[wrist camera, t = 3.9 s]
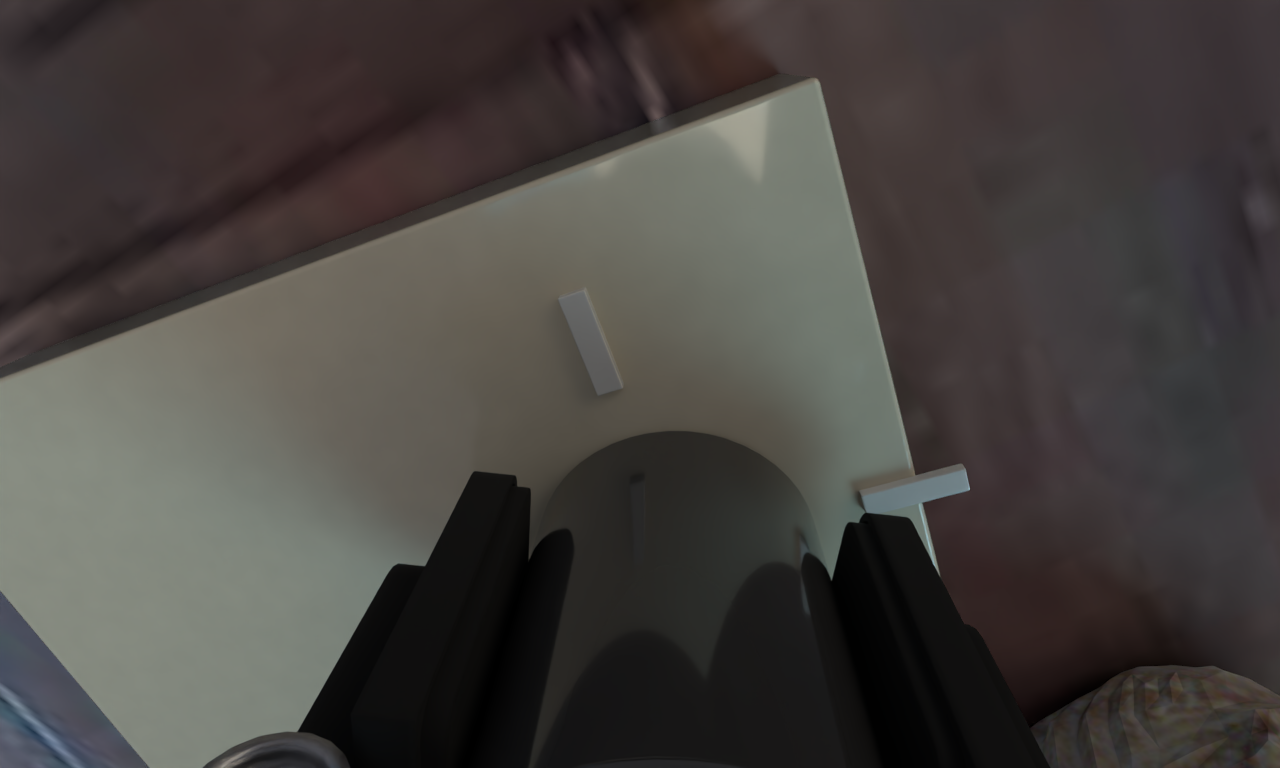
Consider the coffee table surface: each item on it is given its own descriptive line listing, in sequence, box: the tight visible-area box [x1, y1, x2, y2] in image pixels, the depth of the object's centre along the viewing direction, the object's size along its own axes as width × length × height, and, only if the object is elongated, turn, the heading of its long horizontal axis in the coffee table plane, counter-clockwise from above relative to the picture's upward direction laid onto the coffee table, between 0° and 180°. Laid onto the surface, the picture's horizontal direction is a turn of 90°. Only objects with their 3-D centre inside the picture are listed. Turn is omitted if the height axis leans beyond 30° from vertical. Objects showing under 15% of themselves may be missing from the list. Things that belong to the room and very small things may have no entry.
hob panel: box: [0, 74, 970, 768], centre depth 12 cm, size 15×10×3 cm, turn 110°
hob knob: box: [466, 431, 886, 768], centre depth 8 cm, size 4×4×6 cm
